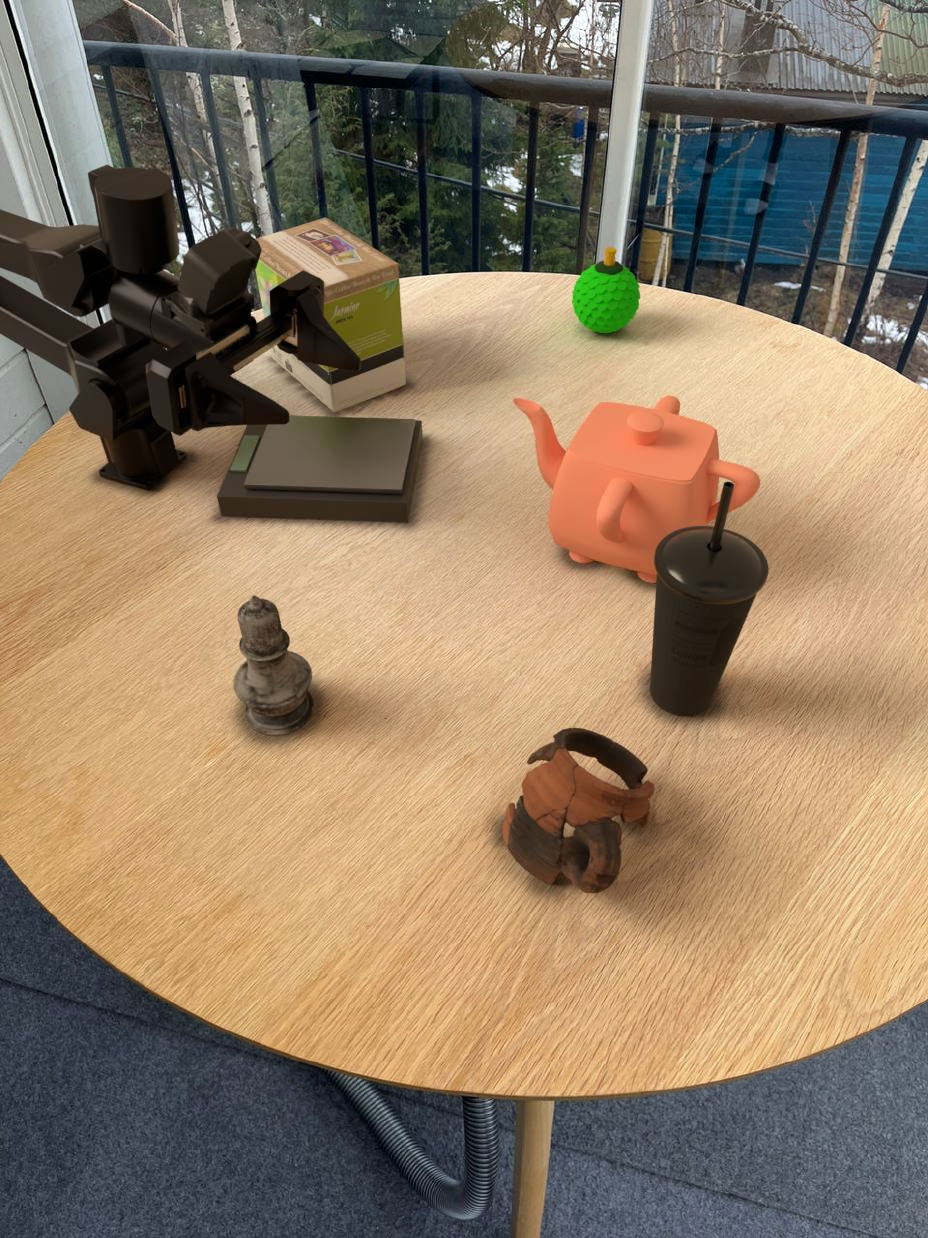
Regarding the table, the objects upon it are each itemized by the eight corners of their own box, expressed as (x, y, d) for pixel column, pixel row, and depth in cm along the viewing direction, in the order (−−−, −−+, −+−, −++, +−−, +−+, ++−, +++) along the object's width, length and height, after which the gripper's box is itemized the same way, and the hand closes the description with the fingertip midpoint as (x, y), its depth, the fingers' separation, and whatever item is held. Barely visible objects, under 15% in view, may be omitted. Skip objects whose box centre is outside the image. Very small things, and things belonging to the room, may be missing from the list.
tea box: (268, 360, 111) (246, 236, 101) (340, 335, 115) (327, 213, 105) (333, 416, 102) (316, 285, 92) (409, 386, 107) (402, 258, 96)
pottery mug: (479, 799, 67) (526, 706, 64) (591, 822, 70) (641, 735, 67) (522, 926, 57) (581, 823, 54) (651, 947, 60) (714, 850, 57)
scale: (221, 516, 90) (215, 494, 88) (254, 434, 100) (250, 413, 98) (407, 523, 89) (406, 500, 87) (422, 439, 99) (421, 418, 97)
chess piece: (303, 744, 70) (279, 631, 62) (229, 732, 71) (196, 619, 63) (327, 686, 74) (308, 573, 66) (257, 675, 75) (229, 562, 67)
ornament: (581, 309, 119) (588, 230, 112) (643, 321, 117) (654, 241, 110) (560, 338, 114) (566, 257, 107) (625, 351, 112) (635, 269, 105)
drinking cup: (736, 669, 75) (796, 462, 61) (723, 741, 70) (785, 532, 56) (642, 647, 77) (678, 441, 63) (622, 716, 72) (657, 508, 58)
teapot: (747, 571, 83) (781, 447, 74) (590, 621, 79) (605, 495, 70) (650, 471, 95) (669, 351, 85) (508, 509, 90) (511, 388, 81)
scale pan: (244, 488, 89) (243, 483, 88) (272, 419, 97) (271, 414, 97) (402, 494, 88) (401, 489, 87) (415, 423, 96) (415, 418, 96)
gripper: (70, 266, 67) (241, 354, 63) (245, 183, 78) (399, 252, 74) (97, 395, 75) (248, 480, 71) (251, 303, 86) (390, 371, 82)
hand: (325, 390), depth 74 cm, fingers open, 9 cm apart
